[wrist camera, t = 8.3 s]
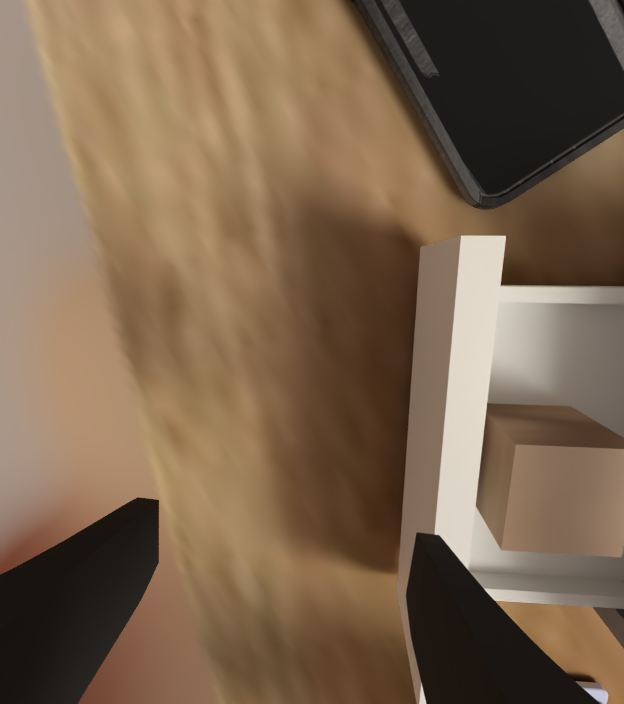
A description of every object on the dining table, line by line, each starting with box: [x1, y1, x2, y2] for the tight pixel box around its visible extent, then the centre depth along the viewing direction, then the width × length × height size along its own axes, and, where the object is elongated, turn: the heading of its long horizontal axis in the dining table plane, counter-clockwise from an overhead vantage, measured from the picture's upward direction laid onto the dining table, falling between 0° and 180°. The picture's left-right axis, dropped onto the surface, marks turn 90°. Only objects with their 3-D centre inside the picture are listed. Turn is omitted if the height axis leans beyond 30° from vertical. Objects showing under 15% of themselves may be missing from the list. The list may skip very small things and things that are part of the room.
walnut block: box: [476, 403, 624, 557], centre depth 15 cm, size 4×4×4 cm
